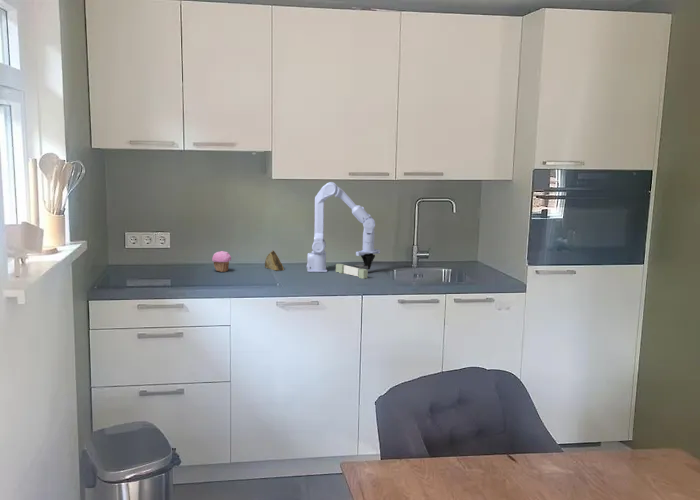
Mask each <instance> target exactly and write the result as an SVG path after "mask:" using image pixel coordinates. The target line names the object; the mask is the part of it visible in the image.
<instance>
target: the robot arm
mask: <svg viewBox="0 0 700 500" xmlns="http://www.w3.org/2000/svg"><path fill="white" fill-rule="evenodd" d="M333 196H334V198H338V199H340V200H342V202H344V204H346V205H347V206H348V207H349V209H351V214H352V215H353V216H354V218H355V219H357V221H358V222H359V223H361V224H362V226H363V232H362V250H359V251H355V256H356V257H361V259H362V261H363V265H367V266H368V270H371V266H372V263H373V262H374V259H375V258H376V255H375V254H380V253H381V250H380V249H377V248H376V249H375V234H376V233H375V227H376V221H375V219H374V218H373V217H372V215H371V214H370V213H368V212H367V210H365V207H364V206H362V205H357V204H356V203H355V202H354V201H353V199H352V198H351V197H350V196H349V194H347V193H346V192H345V191H344V189H342V188H341V187H340V186H338V185H337V184H336V183H335V182H333V181H329V182H327V183H326V184H324V185H323V186H322V187H320V189H319V191H318V192H317V194H316V195H315V196H314V231H313V232H314V233H313V234H314V235H313V243H312V245H311V249H312V250H311V252H308V253H307V254H306V255H307V256H306V270H307V272H308V273H321V272H324V273H328V269H327V251H326V248H327V242H326V241H325V233H324V232H325V202H326V201H327V200H328V199H329V198H330V197H331V198H332V197H333Z"/></svg>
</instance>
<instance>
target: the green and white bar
mask: <svg viewBox="0 0 700 500" xmlns="http://www.w3.org/2000/svg"><path fill="white" fill-rule="evenodd" d="M344 265H345V264H343V263H336V264H335V273H337V272H339V274H345V273H344ZM368 273H369V269H368V270H366V269H359V275H358V276H357V277H359V279H368Z"/></svg>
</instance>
